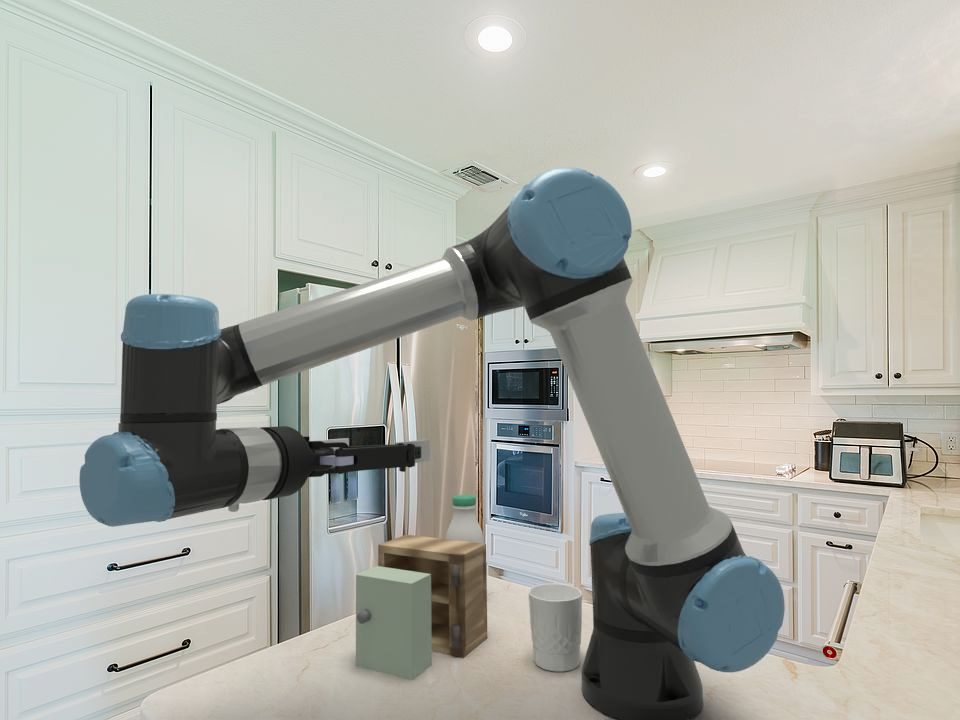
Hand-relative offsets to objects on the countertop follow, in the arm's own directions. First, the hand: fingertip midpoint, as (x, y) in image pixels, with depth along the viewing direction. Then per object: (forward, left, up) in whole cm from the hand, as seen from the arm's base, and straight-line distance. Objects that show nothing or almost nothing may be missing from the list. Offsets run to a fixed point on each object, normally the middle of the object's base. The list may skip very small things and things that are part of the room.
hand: (385, 448), depth 76 cm
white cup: (-17, -19, -32) cm, 41 cm away
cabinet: (+4, -18, -32) cm, 37 cm away
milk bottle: (+8, -36, -32) cm, 49 cm away
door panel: (+4, -7, -32) cm, 33 cm away
